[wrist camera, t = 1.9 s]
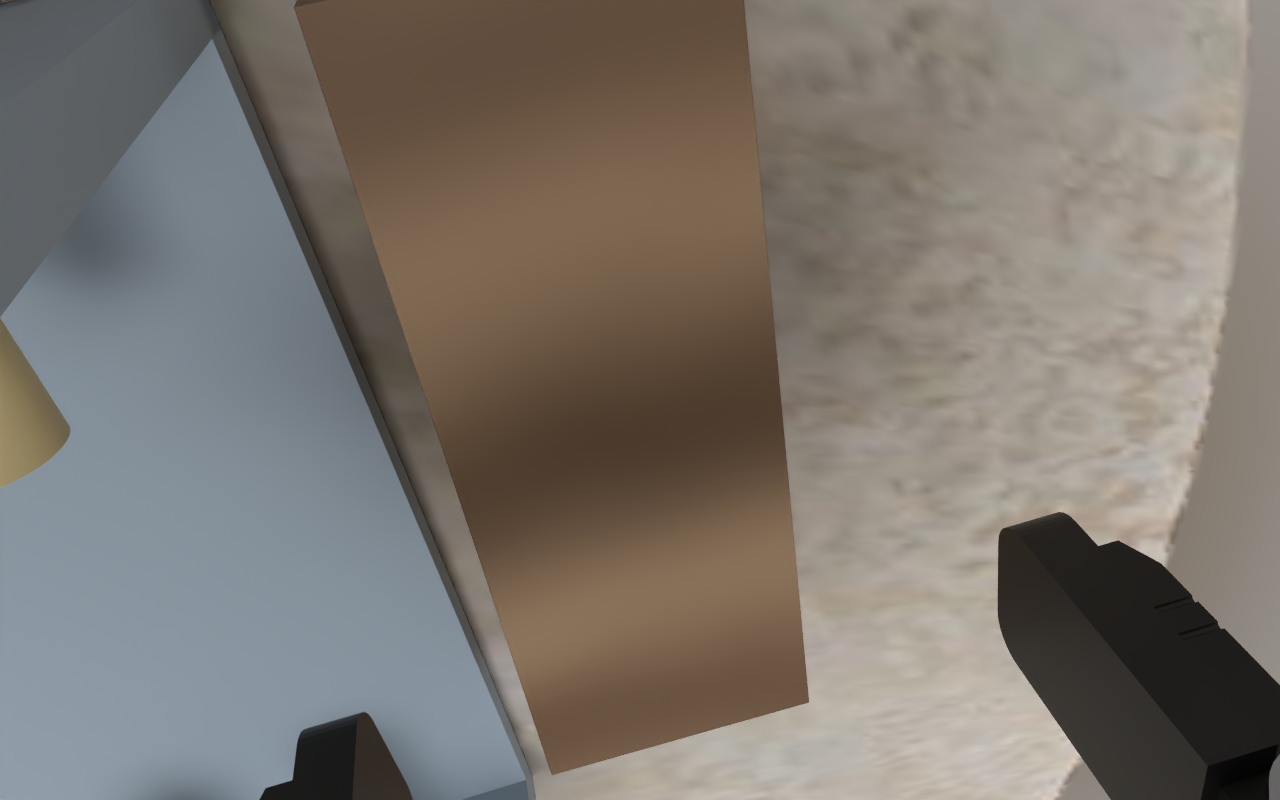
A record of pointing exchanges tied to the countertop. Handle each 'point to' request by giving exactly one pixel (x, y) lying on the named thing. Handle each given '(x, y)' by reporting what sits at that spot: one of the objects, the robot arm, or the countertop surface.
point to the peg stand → (196, 450)
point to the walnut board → (588, 339)
